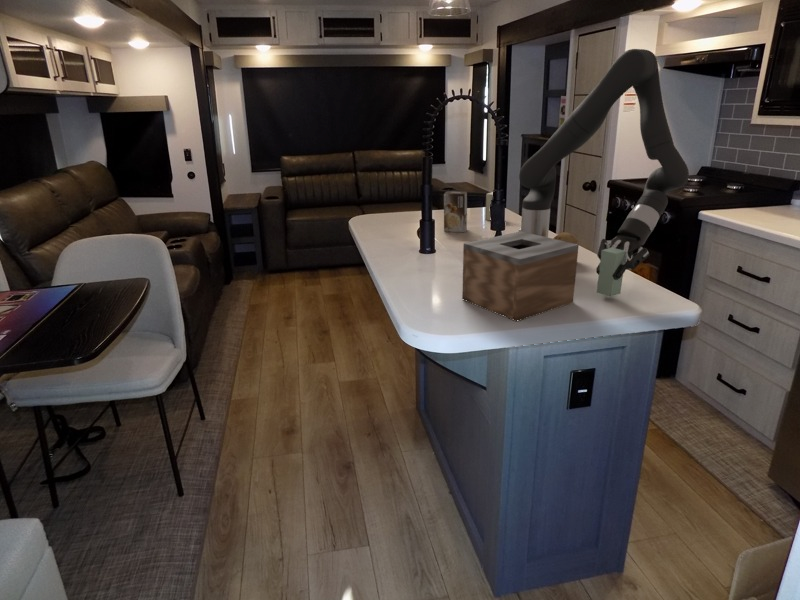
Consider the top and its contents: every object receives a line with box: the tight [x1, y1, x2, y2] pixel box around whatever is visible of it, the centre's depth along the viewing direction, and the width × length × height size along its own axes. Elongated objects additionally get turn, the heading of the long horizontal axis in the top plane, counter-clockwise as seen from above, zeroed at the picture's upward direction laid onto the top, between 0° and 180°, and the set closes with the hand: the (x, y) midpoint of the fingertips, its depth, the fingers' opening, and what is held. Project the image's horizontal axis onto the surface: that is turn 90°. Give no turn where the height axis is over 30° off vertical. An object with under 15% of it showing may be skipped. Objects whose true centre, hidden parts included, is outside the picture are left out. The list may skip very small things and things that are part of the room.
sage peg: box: [596, 247, 626, 298], centre depth 145 cm, size 4×4×12 cm
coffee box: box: [443, 191, 468, 233], centre depth 226 cm, size 9×6×16 cm
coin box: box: [461, 231, 580, 322], centre depth 144 cm, size 20×22×16 cm
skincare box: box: [484, 191, 494, 221], centre depth 247 cm, size 6×4×12 cm
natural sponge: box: [552, 232, 579, 245], centre depth 181 cm, size 9×9×10 cm
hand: (606, 275), depth 144 cm, fingers closed on sage peg, 4 cm apart
